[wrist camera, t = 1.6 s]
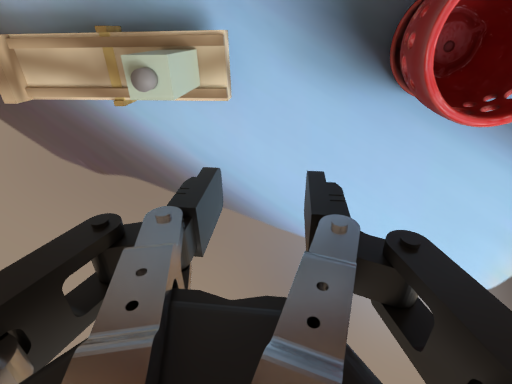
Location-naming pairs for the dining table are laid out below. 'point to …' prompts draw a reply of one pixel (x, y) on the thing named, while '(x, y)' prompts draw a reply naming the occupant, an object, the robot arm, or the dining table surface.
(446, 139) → the dining table surface
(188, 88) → the block
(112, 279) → the robot arm
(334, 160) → the dining table surface
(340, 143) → the dining table surface
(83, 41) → the beam
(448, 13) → the plant pot
